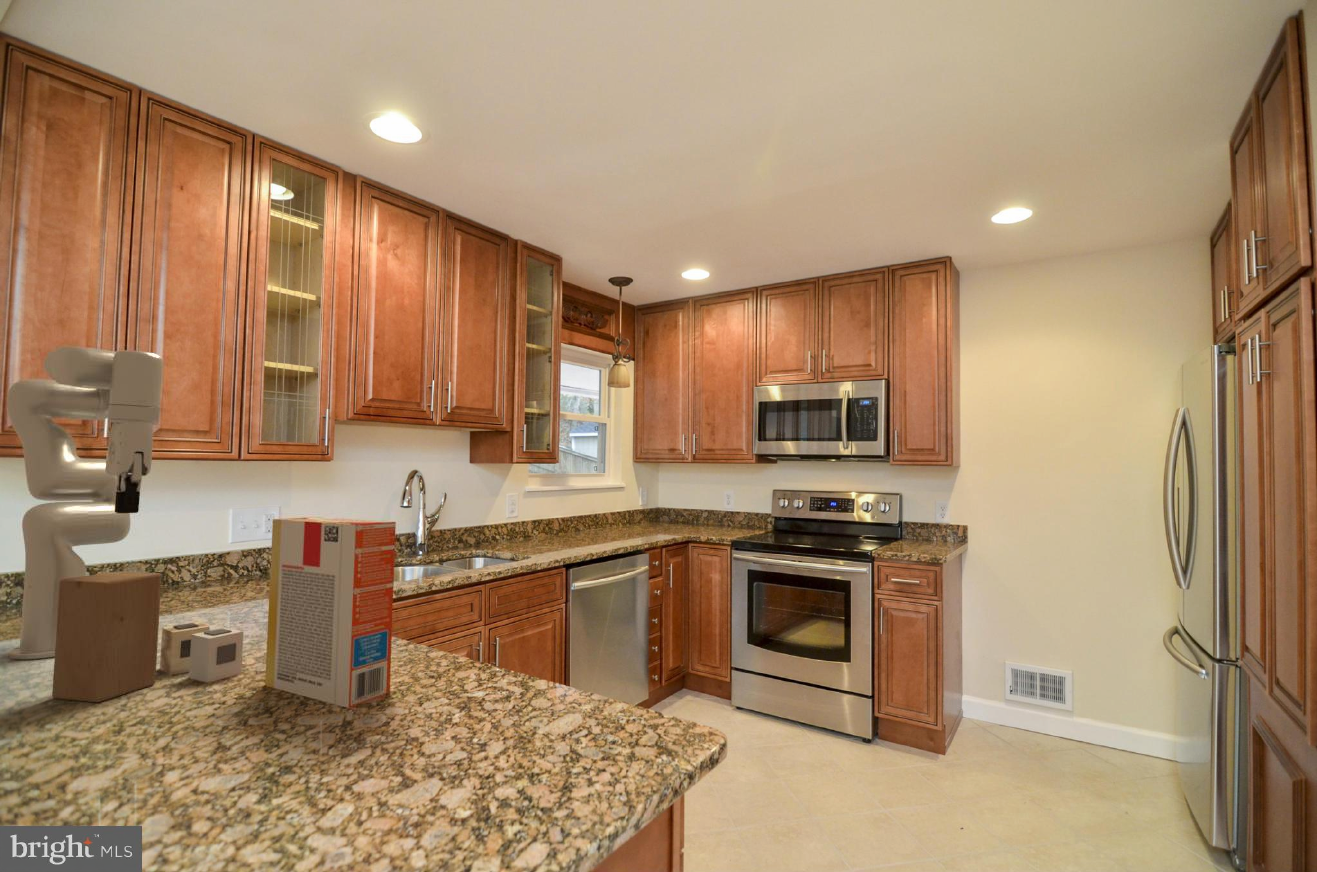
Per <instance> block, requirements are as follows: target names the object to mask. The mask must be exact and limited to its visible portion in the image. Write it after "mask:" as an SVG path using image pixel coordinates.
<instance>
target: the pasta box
mask: <svg viewBox="0 0 1317 872" xmlns="http://www.w3.org/2000/svg"><path fill="white" fill-rule="evenodd" d="M396 525H397V522H396V521H389V520H388V521H385V520H373V519H359V518H357V519H356V518H355V519H353V518H339V517H338V518H337V517H324V516H322V517H321V516H309V517H307V516H306V517H288V518H287V517H285V518H273V519H272V527H271V528H272V530H271V532H272V533H271V534H272V535H271V552H270V553H271V555H270V569H269V570H270V572H269V573H270V576H269V595H268V596H269V597H268V617H267V634H266V635H267V638H266V639H267V640H266V657H265V659H266V660H265V677H264V681H265V682H264V686H267V687H269V688H271V689H272V688H273V689H277V690H281V691H284V692H289V693H292V694H295V695H298V696H299V695H300V696H303V697H307V698H311V699H314V700H317V701H320V702H321V701H322V702H325V703H328V704H332V705H335V706H336V705H337V706H340V707H344V708H347V709H350V708H353V707H355V706H358V705H361V704H363V703H366V702H369V701H372V700H375V699H377V698H380V697H382V696H385V695H389V694H390V693H391V692H390V690H391V668H392V667H391V664H392V663H391V662H392V636H393V635H392V634H393V610H394V586H395V585H394V580H395V579H394V578H395V554H396V553H395V552H396V551H395V550H396V548H395V547H396V528H397V527H396Z"/></svg>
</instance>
